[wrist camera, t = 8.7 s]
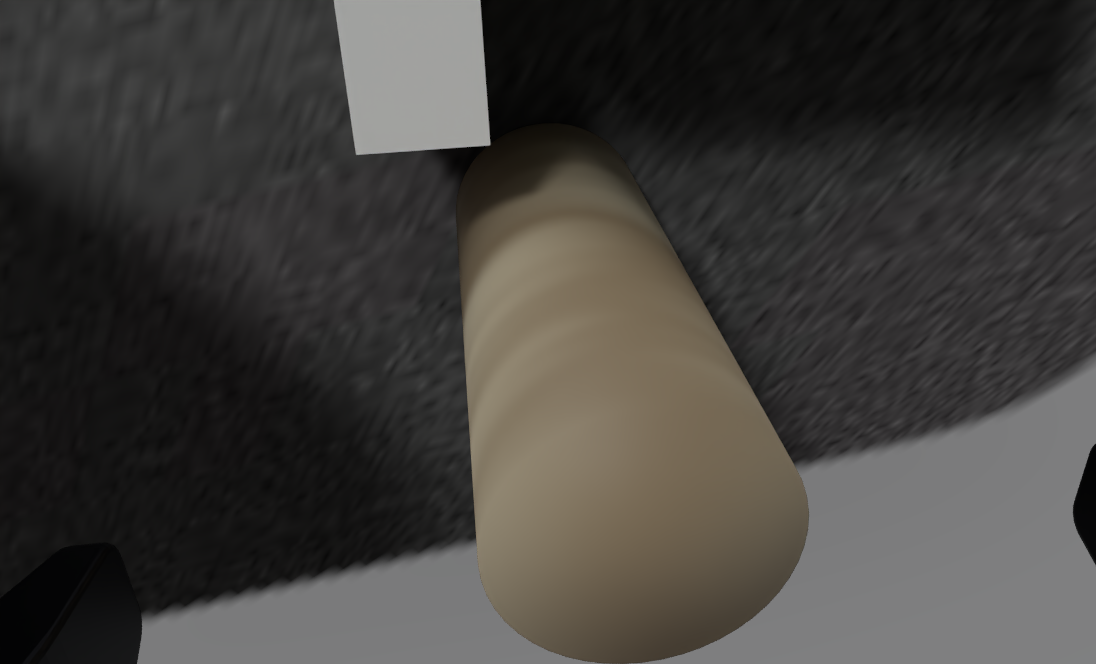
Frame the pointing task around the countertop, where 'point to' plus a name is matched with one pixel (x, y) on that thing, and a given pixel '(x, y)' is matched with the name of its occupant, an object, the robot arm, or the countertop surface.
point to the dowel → (608, 416)
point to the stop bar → (414, 74)
